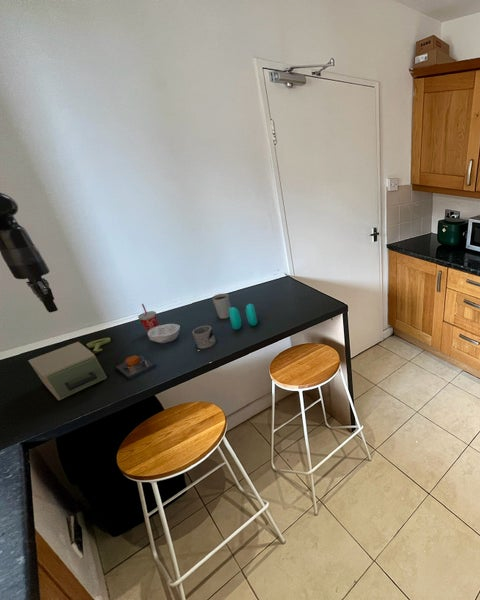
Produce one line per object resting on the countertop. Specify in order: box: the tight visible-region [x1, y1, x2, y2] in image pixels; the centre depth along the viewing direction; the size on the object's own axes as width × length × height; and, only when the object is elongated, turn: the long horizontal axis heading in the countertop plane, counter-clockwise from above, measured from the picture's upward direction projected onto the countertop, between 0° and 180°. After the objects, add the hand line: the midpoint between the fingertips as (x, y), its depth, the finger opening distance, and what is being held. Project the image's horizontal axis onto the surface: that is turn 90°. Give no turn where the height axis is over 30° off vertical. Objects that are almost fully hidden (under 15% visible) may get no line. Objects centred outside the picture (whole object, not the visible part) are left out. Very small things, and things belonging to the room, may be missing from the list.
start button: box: [124, 355, 140, 366], centre depth 112 cm, size 4×4×2 cm
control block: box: [115, 355, 156, 380], centre depth 113 cm, size 10×8×3 cm
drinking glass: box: [211, 293, 232, 319], centre depth 146 cm, size 7×7×10 cm
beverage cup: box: [137, 303, 160, 334], centre depth 132 cm, size 6×6×14 cm
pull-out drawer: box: [47, 358, 106, 400], centre depth 104 cm, size 18×11×8 cm, turn 58°
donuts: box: [229, 303, 259, 330], centre depth 137 cm, size 10×10×10 cm
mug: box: [191, 324, 217, 350], centre depth 127 cm, size 10×7×7 cm
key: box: [86, 337, 112, 354], centre depth 125 cm, size 7×12×2 cm, turn 54°
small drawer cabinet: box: [27, 341, 108, 401], centre depth 105 cm, size 15×13×10 cm
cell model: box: [147, 323, 181, 344], centre depth 128 cm, size 10×12×7 cm
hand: (53, 311), depth 102 cm, fingers closed
